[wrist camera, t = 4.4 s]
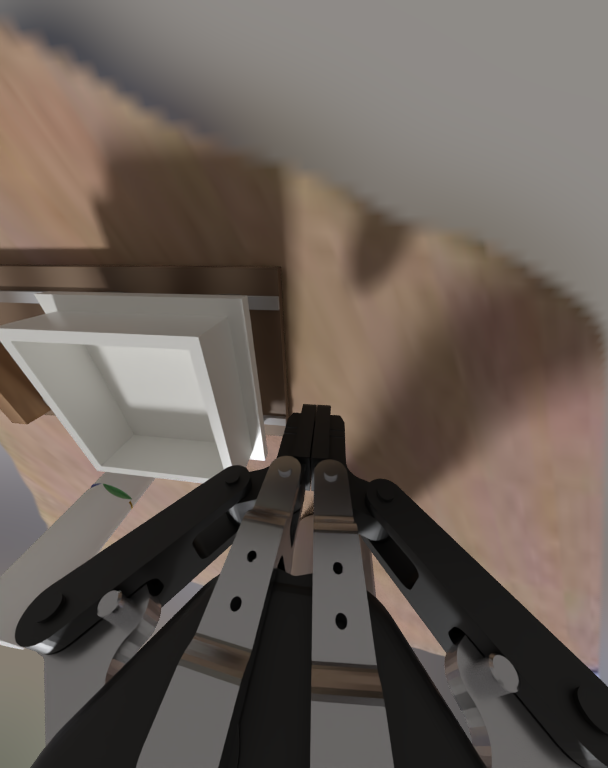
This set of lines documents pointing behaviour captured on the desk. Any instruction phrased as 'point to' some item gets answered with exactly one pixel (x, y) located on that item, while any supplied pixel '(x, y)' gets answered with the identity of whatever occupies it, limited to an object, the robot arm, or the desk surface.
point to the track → (261, 285)
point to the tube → (67, 545)
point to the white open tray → (147, 379)
